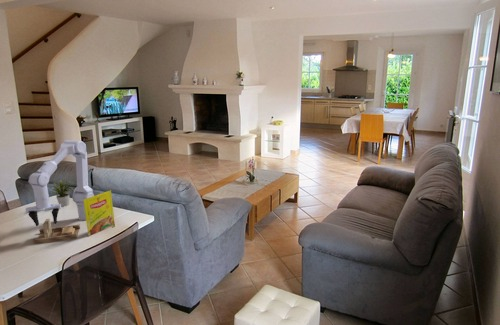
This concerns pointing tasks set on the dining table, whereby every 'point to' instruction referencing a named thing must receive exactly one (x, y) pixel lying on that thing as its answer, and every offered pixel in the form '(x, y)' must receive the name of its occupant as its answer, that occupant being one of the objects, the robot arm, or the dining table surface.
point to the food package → (99, 212)
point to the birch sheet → (47, 228)
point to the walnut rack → (56, 235)
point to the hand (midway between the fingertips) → (46, 224)
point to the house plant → (62, 193)
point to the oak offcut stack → (68, 231)
